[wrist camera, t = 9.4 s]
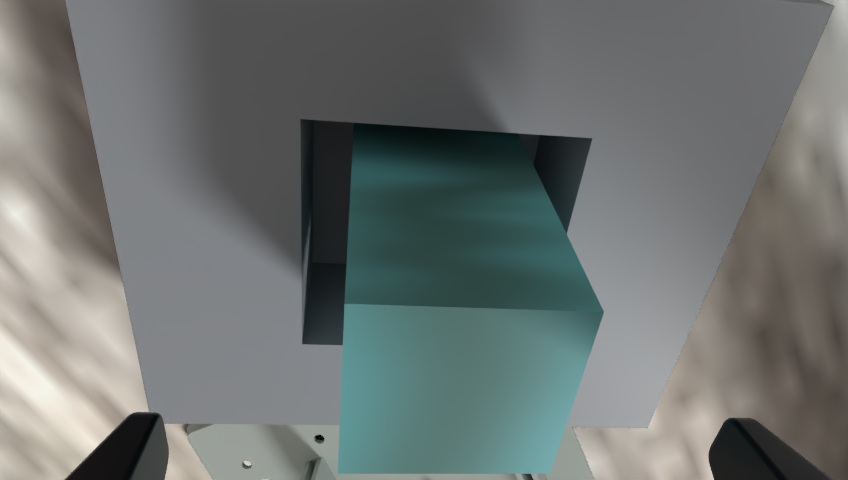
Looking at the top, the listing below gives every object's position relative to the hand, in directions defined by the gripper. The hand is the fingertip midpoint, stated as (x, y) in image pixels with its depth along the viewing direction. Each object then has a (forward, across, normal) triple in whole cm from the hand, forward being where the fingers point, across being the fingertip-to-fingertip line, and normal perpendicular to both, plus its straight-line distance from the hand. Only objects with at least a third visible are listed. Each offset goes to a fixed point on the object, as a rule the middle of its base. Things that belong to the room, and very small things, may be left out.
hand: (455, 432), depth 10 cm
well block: (+9, 0, 0) cm, 9 cm away
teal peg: (+9, 0, 0) cm, 9 cm away
